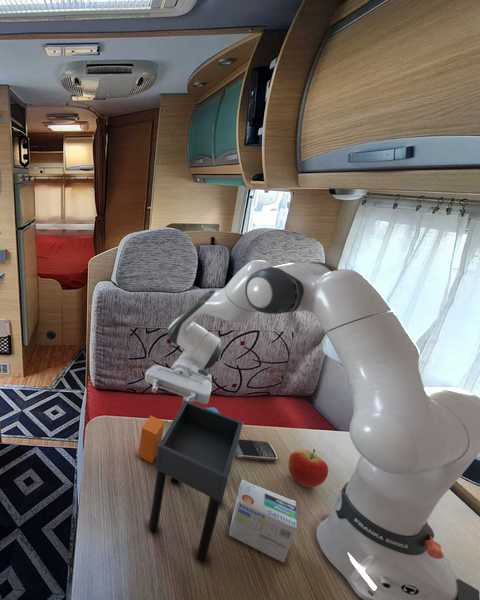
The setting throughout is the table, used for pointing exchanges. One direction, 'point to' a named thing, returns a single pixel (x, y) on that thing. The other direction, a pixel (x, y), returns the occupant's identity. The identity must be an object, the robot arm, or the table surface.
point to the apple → (307, 468)
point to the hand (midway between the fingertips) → (169, 396)
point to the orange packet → (151, 438)
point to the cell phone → (255, 450)
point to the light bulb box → (264, 520)
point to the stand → (208, 523)
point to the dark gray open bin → (200, 449)
